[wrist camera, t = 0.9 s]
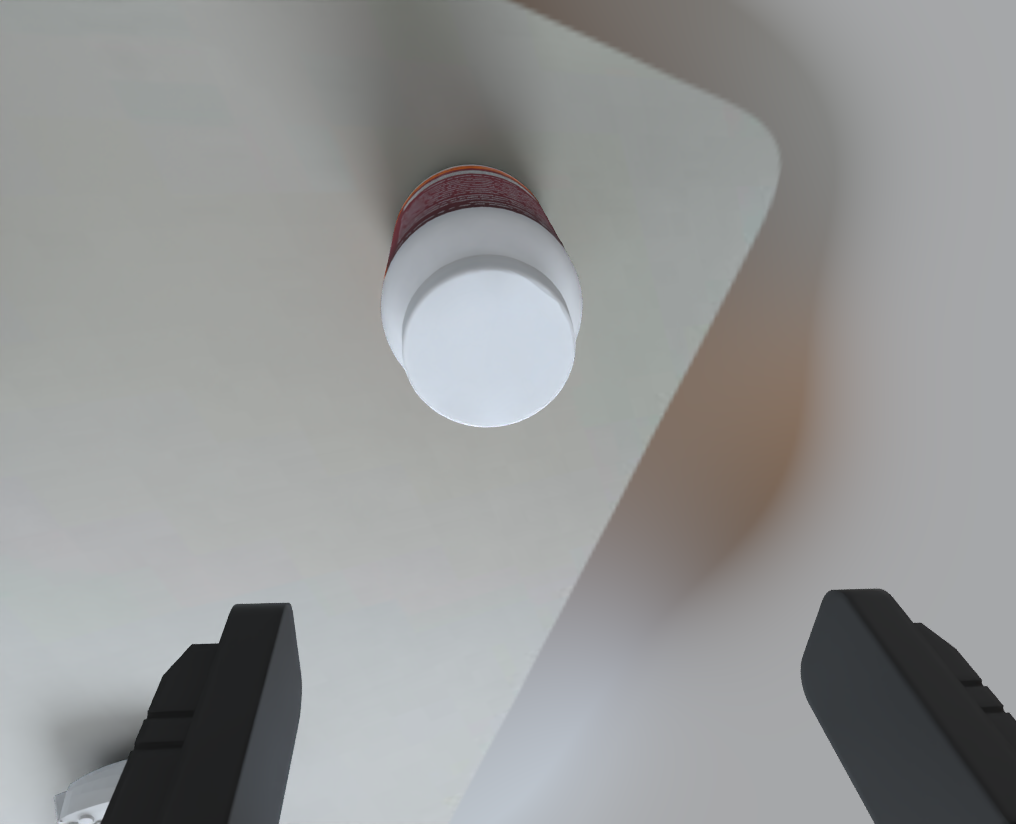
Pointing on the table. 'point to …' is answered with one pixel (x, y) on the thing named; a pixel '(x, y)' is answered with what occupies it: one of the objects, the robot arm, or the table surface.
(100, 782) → the game controller
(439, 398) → the pill bottle
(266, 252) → the table surface
